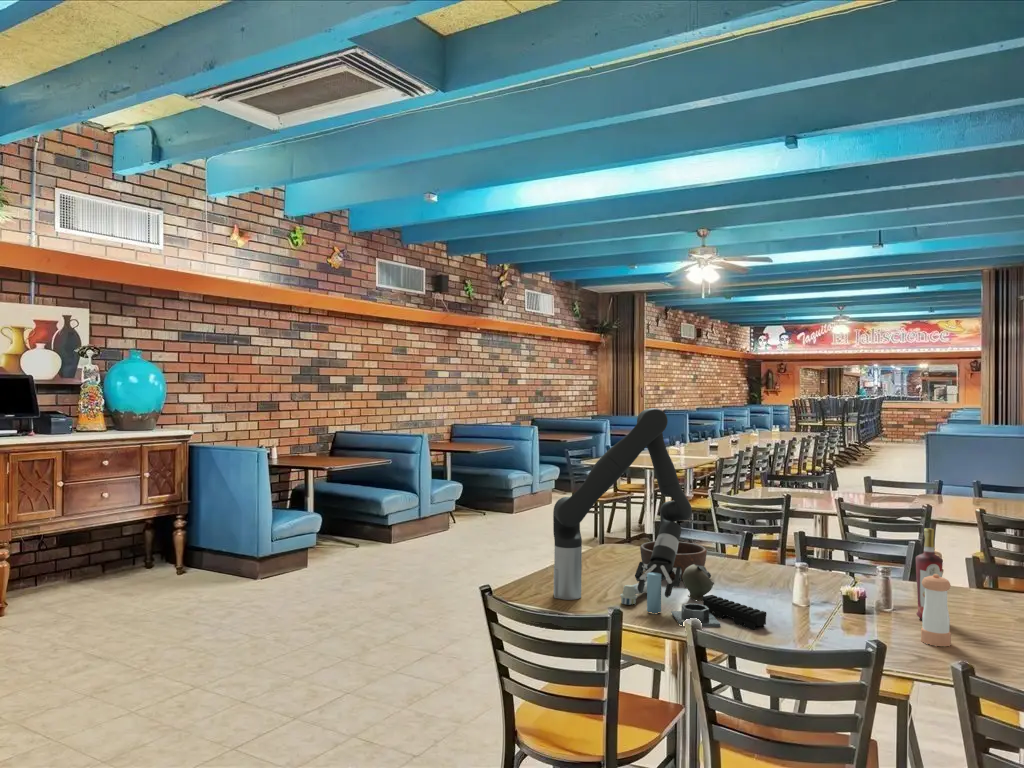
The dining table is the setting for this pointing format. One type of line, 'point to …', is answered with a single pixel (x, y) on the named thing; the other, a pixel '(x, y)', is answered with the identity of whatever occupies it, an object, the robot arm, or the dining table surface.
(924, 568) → the liquor
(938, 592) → the salt shaker
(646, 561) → the wooden bowl
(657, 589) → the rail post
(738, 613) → the rail mount
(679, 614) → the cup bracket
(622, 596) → the grey handheld tool
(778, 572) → the dining table surface
